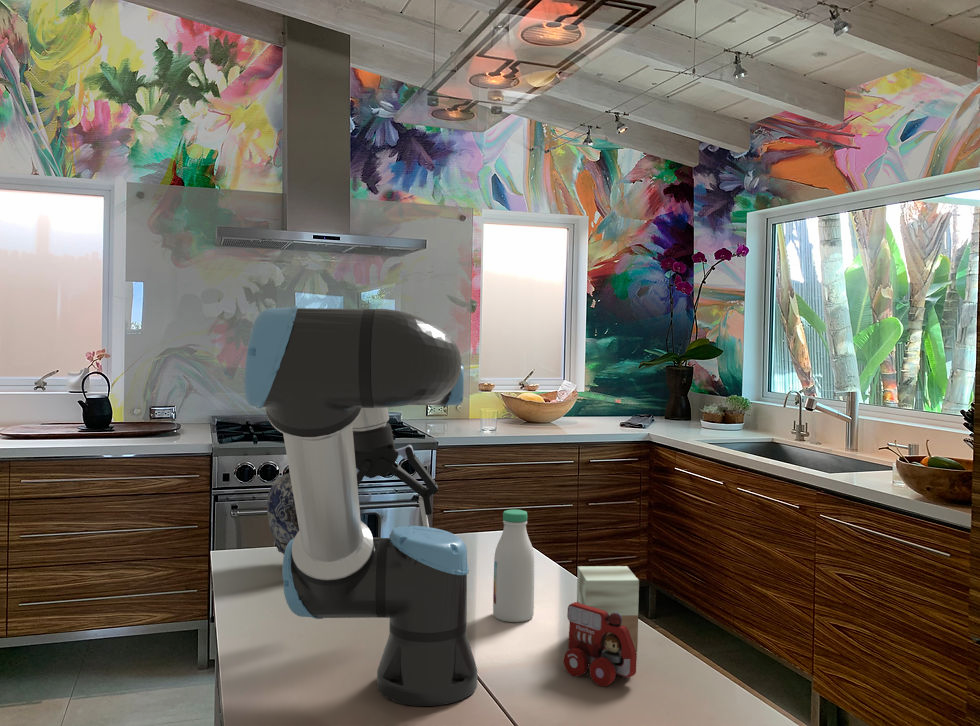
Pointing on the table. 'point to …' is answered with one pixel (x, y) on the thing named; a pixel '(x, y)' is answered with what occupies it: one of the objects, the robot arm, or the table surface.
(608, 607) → the tower stack
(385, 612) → the robot arm
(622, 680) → the table surface
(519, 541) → the milk bottle
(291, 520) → the decorative vase
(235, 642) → the table surface
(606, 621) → the toy fire truck
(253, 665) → the table surface
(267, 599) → the table surface
